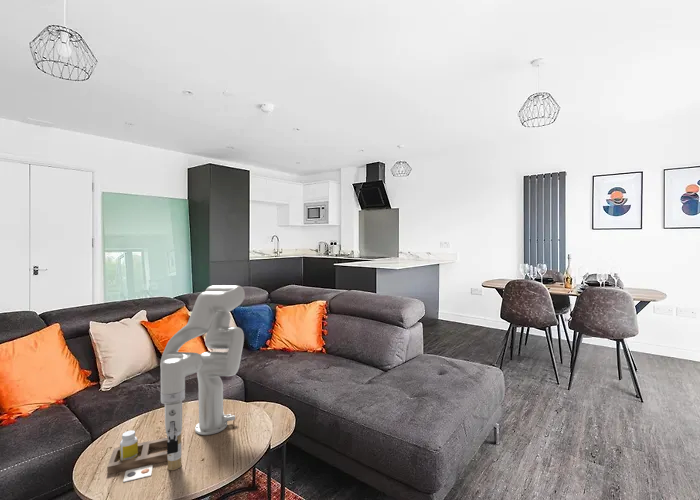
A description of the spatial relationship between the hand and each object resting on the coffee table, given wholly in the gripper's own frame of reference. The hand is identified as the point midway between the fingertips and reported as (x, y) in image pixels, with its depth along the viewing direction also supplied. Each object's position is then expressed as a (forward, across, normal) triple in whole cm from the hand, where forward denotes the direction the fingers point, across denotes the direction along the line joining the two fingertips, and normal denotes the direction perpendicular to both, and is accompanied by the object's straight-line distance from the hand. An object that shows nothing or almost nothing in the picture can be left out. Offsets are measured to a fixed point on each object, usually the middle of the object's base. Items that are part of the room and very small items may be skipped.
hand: (173, 445), depth 123 cm
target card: (+8, +2, +11) cm, 13 cm away
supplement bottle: (+8, +12, +15) cm, 20 cm away
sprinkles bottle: (+8, +1, 0) cm, 8 cm away
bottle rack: (+8, +12, +10) cm, 17 cm away
